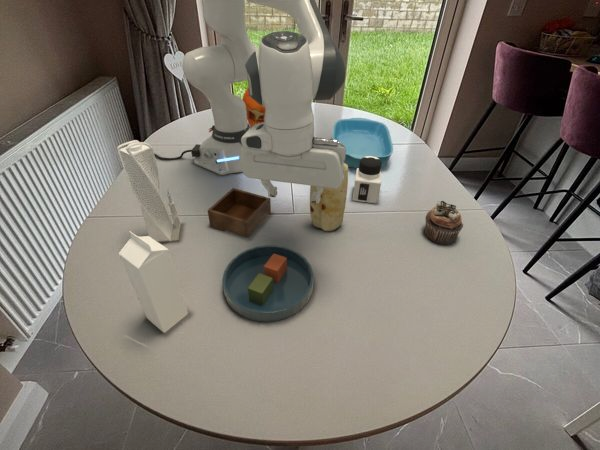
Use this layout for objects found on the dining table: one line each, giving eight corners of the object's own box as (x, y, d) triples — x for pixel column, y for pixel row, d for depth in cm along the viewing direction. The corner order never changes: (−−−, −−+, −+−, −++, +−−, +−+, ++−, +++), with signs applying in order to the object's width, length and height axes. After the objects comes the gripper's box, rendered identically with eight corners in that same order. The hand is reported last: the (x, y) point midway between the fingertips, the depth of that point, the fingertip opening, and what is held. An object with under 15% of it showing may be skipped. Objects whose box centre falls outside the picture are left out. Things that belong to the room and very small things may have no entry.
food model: (341, 218, 97) (348, 156, 85) (344, 233, 92) (353, 169, 80) (308, 218, 97) (310, 156, 85) (309, 233, 92) (312, 169, 79)
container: (376, 204, 104) (384, 167, 95) (352, 200, 105) (357, 164, 97) (377, 191, 110) (384, 155, 101) (353, 188, 111) (359, 152, 102)
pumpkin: (307, 126, 150) (308, 80, 138) (278, 144, 135) (277, 94, 123) (266, 116, 160) (264, 71, 147) (235, 131, 145) (229, 83, 132)
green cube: (249, 300, 73) (247, 288, 70) (259, 284, 76) (258, 272, 74) (263, 305, 72) (262, 293, 69) (273, 290, 75) (272, 277, 73)
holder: (210, 226, 93) (207, 210, 90) (234, 203, 102) (232, 187, 99) (248, 239, 89) (247, 222, 86) (271, 213, 98) (270, 198, 95)
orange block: (264, 278, 78) (263, 266, 75) (274, 265, 81) (273, 253, 79) (277, 283, 77) (277, 271, 74) (287, 269, 80) (286, 257, 78)
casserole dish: (393, 177, 116) (397, 159, 112) (329, 173, 118) (330, 154, 114) (383, 134, 145) (386, 118, 141) (332, 131, 147) (334, 115, 142)
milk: (171, 301, 73) (144, 221, 59) (189, 315, 70) (165, 235, 56) (146, 319, 69) (111, 239, 55) (164, 335, 66) (132, 254, 53)
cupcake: (457, 249, 88) (470, 219, 81) (419, 241, 90) (429, 211, 84) (457, 228, 95) (469, 199, 89) (422, 220, 97) (431, 192, 91)
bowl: (206, 302, 73) (203, 292, 70) (253, 246, 87) (252, 236, 85) (289, 337, 66) (289, 327, 64) (325, 270, 81) (326, 260, 79)
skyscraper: (177, 244, 87) (149, 145, 70) (145, 247, 86) (108, 147, 68) (181, 224, 94) (156, 129, 76) (151, 227, 92) (118, 131, 75)
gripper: (349, 133, 60) (346, 196, 69) (246, 124, 65) (255, 185, 74) (343, 148, 56) (340, 214, 64) (232, 137, 61) (243, 200, 69)
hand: (294, 198), depth 69 cm, fingers open, 8 cm apart
